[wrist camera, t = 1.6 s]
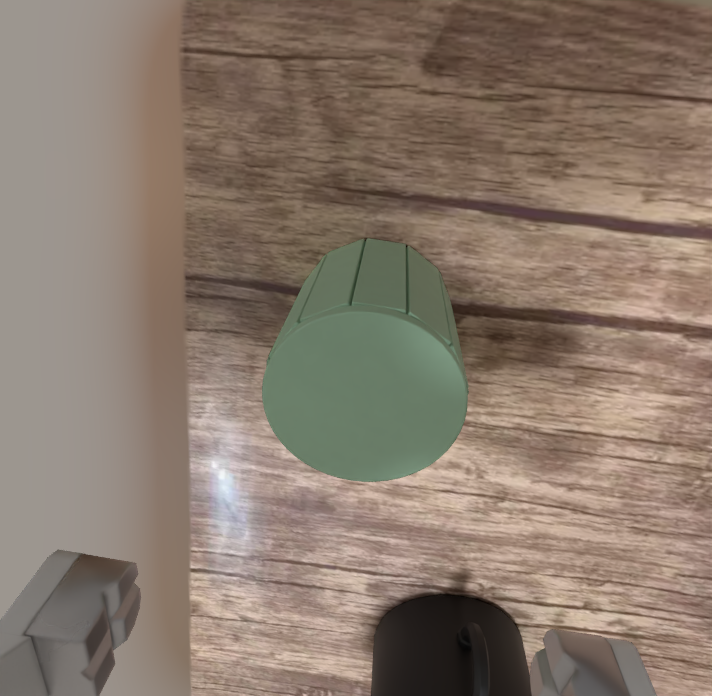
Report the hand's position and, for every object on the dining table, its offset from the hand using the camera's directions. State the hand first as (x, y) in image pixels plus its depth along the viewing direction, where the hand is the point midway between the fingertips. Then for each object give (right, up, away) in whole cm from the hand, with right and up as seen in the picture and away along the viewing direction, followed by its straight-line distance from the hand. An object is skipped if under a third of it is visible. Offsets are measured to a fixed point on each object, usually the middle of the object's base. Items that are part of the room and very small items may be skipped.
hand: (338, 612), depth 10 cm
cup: (+1, +7, +12) cm, 14 cm away
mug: (+6, -13, +22) cm, 26 cm away
